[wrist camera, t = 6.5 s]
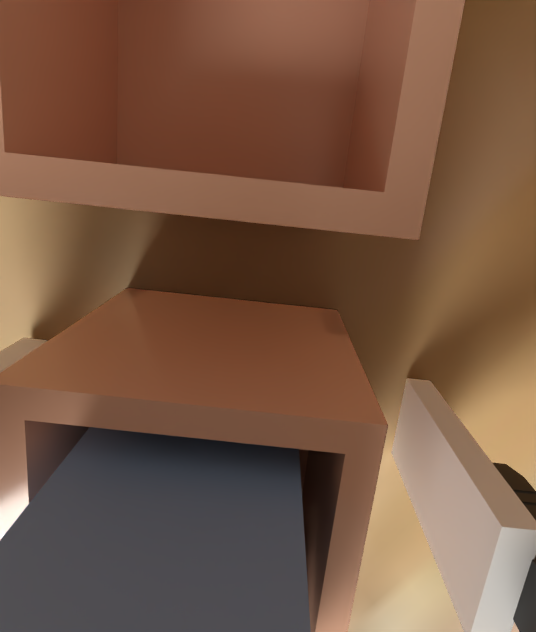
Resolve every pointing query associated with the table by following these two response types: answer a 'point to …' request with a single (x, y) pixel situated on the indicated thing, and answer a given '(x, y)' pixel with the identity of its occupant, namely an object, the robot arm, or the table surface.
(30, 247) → the table surface
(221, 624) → the blue rectangular block
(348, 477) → the pot
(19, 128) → the pot
